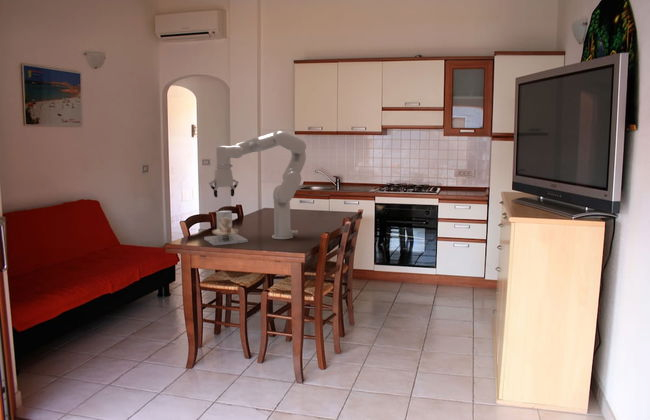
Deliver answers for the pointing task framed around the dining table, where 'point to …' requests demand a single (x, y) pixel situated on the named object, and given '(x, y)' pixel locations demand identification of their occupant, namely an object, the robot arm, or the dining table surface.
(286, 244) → the dining table surface
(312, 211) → the dining table surface
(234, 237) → the eye plate
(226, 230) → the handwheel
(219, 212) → the skincare box
